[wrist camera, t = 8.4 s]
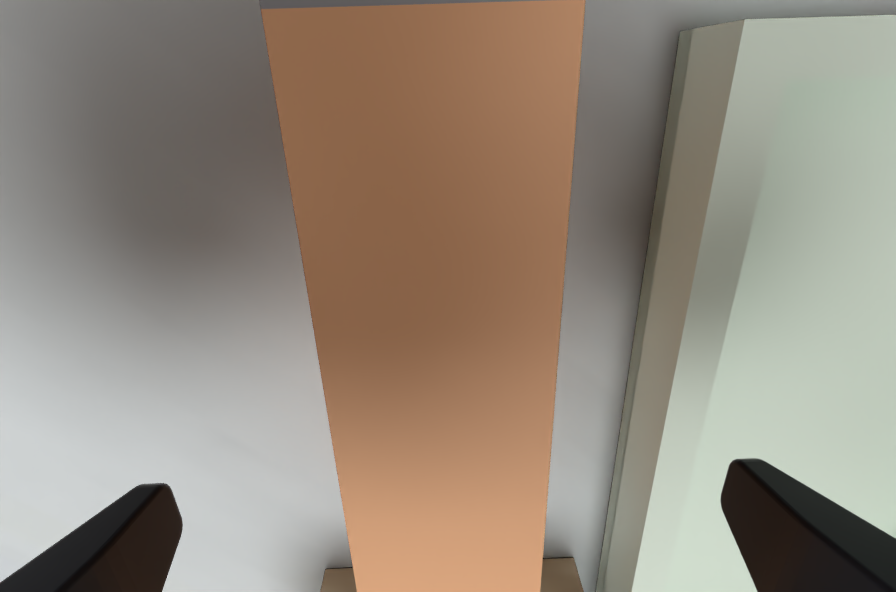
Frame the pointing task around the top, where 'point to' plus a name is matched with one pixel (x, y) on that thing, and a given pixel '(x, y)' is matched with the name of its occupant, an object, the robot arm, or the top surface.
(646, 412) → the tray
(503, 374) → the orange rectangular block
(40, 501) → the top surface
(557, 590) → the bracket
